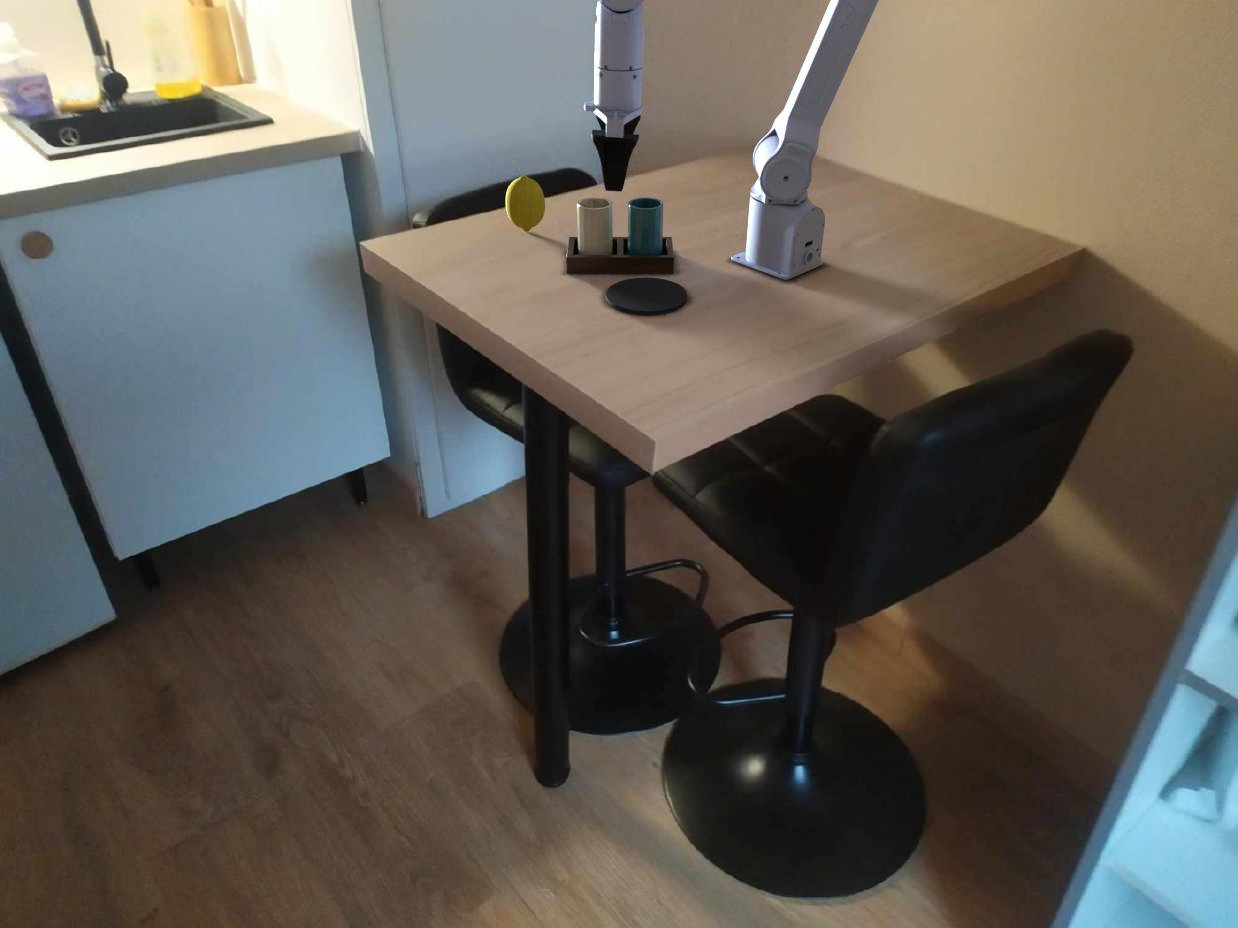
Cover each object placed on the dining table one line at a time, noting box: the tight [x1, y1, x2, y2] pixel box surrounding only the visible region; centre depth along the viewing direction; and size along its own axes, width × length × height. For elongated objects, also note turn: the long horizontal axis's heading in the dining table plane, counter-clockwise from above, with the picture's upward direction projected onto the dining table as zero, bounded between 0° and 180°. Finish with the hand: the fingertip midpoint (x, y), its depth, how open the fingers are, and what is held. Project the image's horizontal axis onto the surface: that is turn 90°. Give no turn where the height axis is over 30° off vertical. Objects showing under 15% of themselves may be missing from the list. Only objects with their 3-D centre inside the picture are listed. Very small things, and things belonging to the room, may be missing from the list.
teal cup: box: [627, 197, 664, 255], centre depth 120 cm, size 4×4×8 cm
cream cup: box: [576, 197, 614, 255], centre depth 120 cm, size 4×4×8 cm
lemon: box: [505, 174, 546, 233], centre depth 130 cm, size 6×6×8 cm
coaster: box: [605, 276, 688, 316], centre depth 113 cm, size 10×10×1 cm
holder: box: [565, 236, 675, 274], centre depth 122 cm, size 7×14×2 cm, turn 90°
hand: (615, 180), depth 117 cm, fingers open, 7 cm apart
